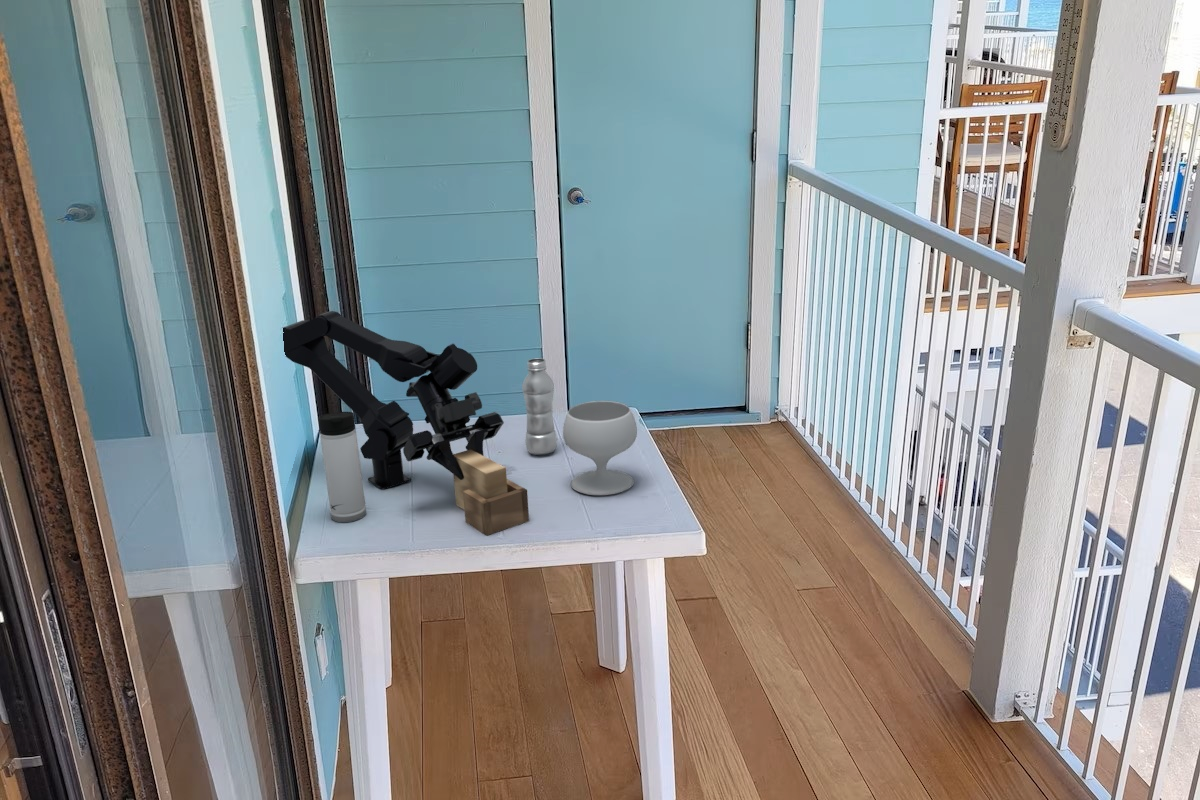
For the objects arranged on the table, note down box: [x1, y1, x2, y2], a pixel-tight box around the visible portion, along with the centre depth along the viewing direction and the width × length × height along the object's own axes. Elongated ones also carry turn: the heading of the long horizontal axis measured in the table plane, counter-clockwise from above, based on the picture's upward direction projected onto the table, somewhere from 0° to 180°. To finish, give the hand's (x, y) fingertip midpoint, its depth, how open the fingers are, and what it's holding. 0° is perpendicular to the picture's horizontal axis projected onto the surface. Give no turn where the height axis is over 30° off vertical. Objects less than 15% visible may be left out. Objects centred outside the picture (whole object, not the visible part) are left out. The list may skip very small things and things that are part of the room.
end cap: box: [463, 478, 530, 536], centre depth 177 cm, size 7×9×6 cm
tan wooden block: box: [452, 449, 508, 511], centre depth 180 cm, size 12×4×10 cm, turn 38°
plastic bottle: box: [521, 357, 558, 456], centre depth 206 cm, size 6×7×20 cm
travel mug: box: [317, 411, 367, 523], centre depth 179 cm, size 6×7×20 cm
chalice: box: [562, 400, 638, 496], centre depth 189 cm, size 14×14×15 cm
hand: (473, 475), depth 181 cm, fingers closed on tan wooden block, 4 cm apart
